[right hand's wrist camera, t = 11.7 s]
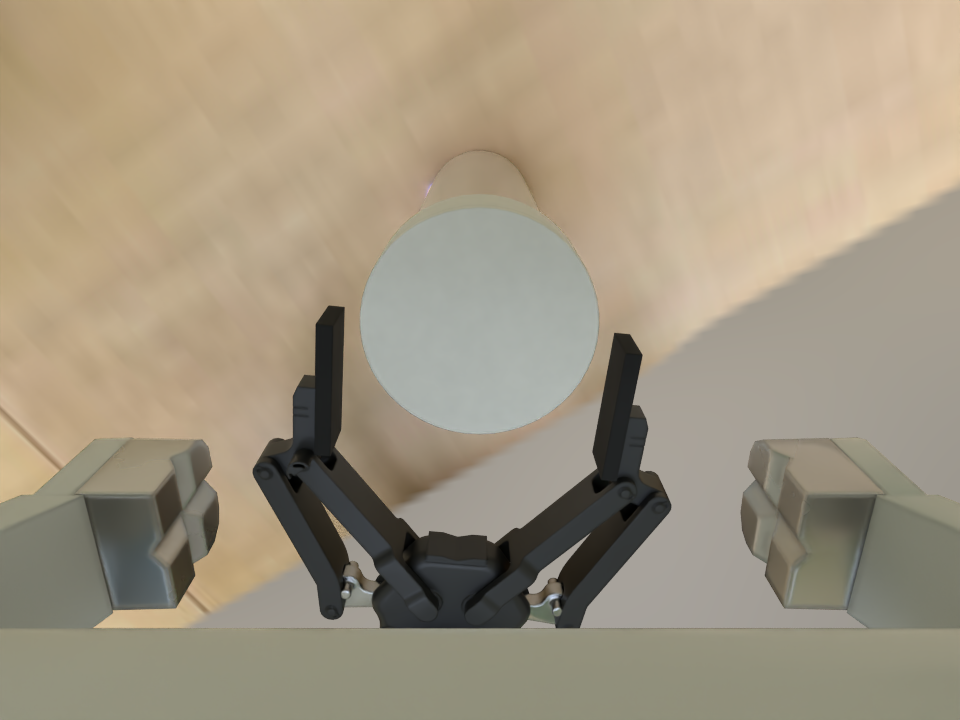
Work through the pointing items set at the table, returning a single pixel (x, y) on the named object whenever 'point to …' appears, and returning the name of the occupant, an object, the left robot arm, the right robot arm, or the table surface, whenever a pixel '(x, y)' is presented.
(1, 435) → the table surface
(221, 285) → the table surface
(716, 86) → the table surface
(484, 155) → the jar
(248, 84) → the table surface
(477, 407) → the lid
